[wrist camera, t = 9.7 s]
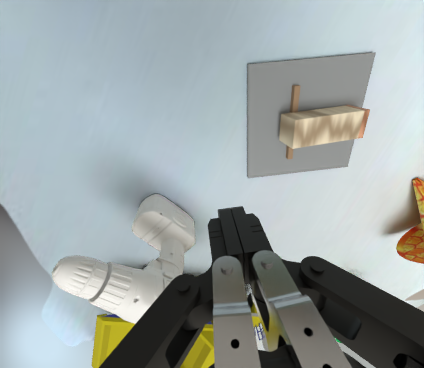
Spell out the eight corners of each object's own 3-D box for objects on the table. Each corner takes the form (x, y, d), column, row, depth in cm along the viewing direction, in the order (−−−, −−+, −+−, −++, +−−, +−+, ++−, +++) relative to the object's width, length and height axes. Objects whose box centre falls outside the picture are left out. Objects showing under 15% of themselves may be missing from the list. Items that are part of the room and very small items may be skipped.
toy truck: (116, 257, 58) (86, 341, 40) (256, 275, 67) (280, 351, 49) (108, 310, 68) (81, 396, 51) (230, 320, 77) (242, 396, 60)
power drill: (124, 163, 45) (67, 259, 24) (207, 225, 55) (220, 333, 34) (100, 190, 48) (28, 299, 26) (183, 244, 58) (181, 356, 36)
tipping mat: (247, 64, 39) (250, 64, 37) (371, 52, 40) (380, 52, 38) (247, 176, 50) (249, 180, 48) (344, 164, 51) (351, 168, 49)
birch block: (295, 120, 37) (369, 109, 39) (281, 114, 41) (348, 104, 43) (292, 148, 39) (362, 137, 41) (279, 140, 43) (343, 130, 45)
